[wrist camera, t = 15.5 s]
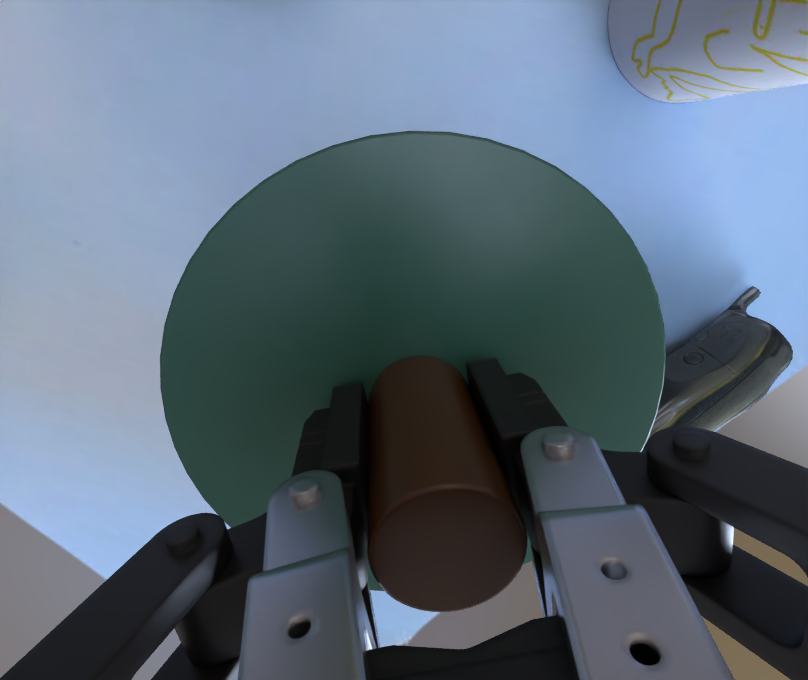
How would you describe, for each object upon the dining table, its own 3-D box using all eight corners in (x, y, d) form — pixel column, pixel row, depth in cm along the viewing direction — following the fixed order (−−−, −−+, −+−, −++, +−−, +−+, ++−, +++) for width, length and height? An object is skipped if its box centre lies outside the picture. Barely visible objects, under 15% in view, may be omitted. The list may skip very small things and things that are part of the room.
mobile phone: (610, 524, 29) (842, 340, 25) (576, 497, 28) (810, 302, 25) (579, 471, 34) (772, 309, 30) (549, 446, 33) (743, 276, 29)
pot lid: (253, 594, 16) (185, 850, 10) (99, 187, 12) (-176, 228, 6) (644, 522, 16) (801, 737, 10) (642, 85, 12) (922, 21, 6)
